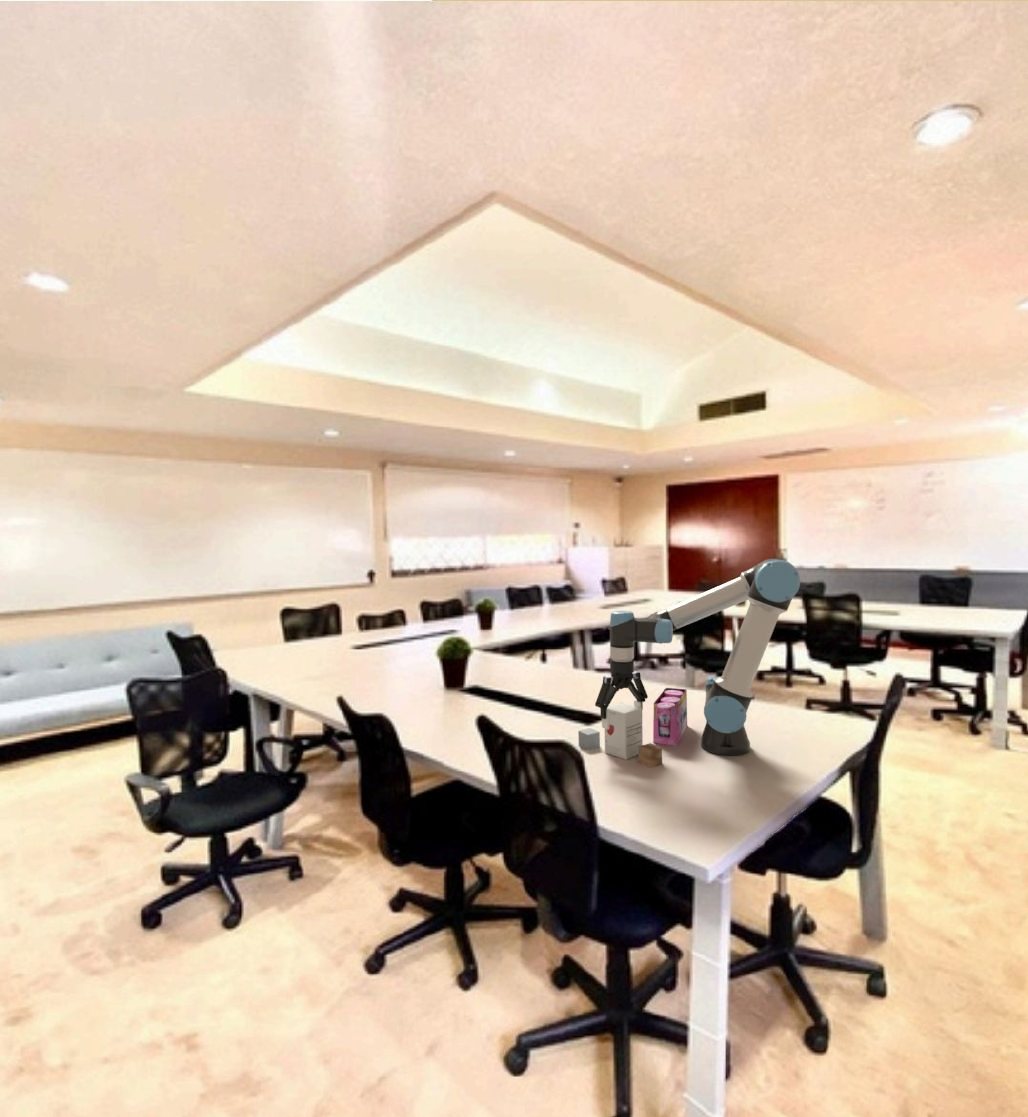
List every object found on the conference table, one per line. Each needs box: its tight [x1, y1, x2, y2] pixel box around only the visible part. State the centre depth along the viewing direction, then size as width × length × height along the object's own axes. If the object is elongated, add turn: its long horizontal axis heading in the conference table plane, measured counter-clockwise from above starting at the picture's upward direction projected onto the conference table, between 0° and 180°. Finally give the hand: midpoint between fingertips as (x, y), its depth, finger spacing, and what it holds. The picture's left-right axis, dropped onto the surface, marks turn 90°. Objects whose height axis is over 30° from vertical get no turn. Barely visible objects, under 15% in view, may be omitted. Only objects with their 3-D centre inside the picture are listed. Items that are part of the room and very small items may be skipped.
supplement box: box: [604, 701, 644, 761], centre depth 193 cm, size 9×9×15 cm
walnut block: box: [638, 742, 663, 768], centre depth 185 cm, size 5×5×5 cm
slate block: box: [578, 727, 601, 751], centre depth 201 cm, size 5×5×5 cm
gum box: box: [652, 687, 688, 747], centre depth 209 cm, size 24×8×14 cm, turn 155°
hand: (622, 724), depth 193 cm, fingers open, 13 cm apart
